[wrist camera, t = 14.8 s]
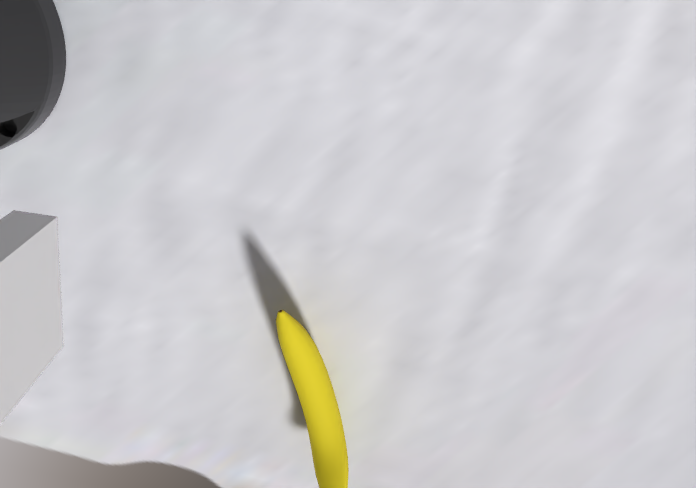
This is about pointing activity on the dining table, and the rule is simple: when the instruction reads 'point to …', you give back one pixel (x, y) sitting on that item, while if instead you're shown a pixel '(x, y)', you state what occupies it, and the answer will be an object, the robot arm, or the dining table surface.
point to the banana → (315, 402)
